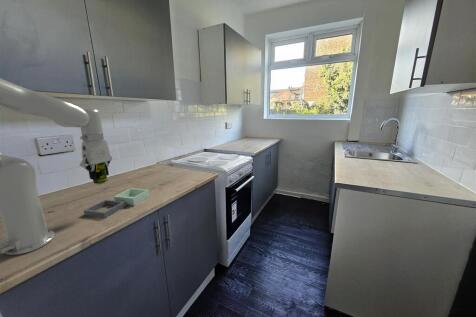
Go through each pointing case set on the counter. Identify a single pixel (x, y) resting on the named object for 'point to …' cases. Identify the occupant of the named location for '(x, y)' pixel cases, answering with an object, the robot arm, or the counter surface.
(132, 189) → the green bin
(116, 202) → the tray
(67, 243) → the counter surface
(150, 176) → the counter surface
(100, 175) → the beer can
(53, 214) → the counter surface
